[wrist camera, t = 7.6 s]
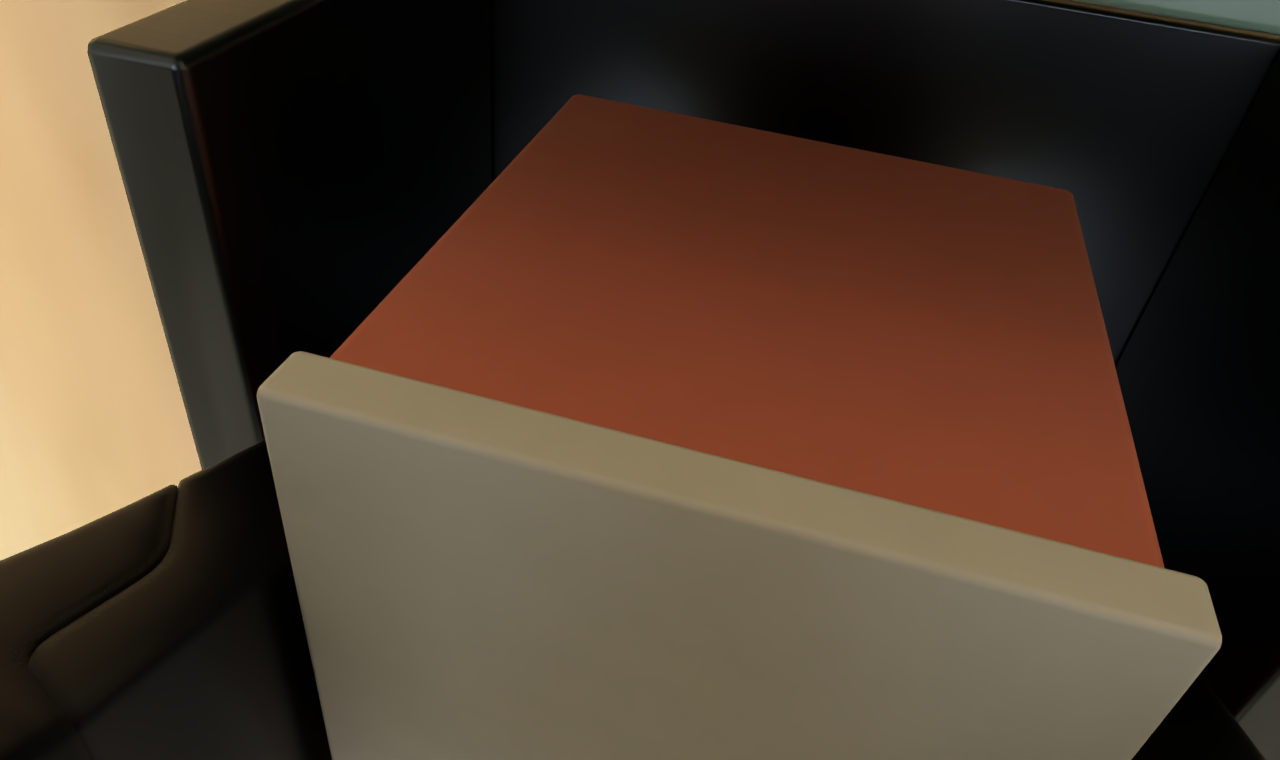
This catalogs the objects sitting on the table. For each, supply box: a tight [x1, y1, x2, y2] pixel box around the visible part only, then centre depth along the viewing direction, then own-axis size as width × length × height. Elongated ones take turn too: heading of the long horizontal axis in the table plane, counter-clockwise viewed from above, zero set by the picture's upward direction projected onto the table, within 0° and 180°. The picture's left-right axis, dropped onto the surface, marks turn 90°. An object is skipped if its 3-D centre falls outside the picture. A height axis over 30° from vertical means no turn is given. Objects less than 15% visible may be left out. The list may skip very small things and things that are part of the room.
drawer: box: [88, 0, 1280, 760], centre depth 9 cm, size 15×11×7 cm
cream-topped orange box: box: [256, 94, 1222, 760], centre depth 8 cm, size 5×5×5 cm
